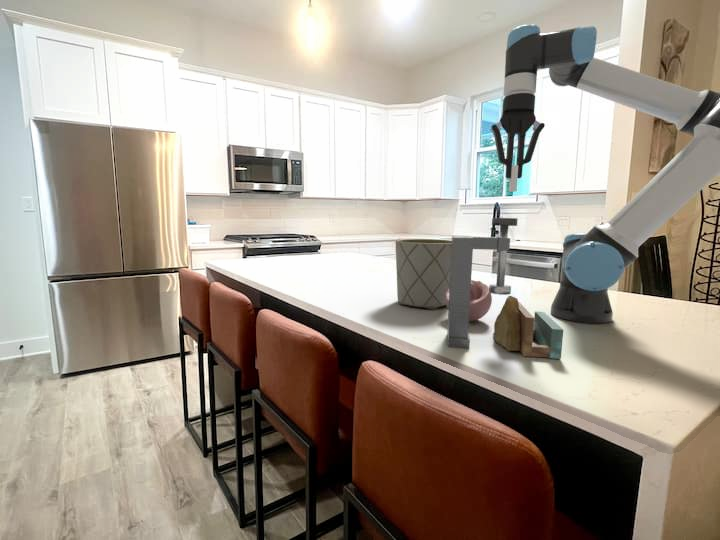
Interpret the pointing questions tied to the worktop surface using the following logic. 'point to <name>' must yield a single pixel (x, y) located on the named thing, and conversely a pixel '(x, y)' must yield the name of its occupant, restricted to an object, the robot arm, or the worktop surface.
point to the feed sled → (539, 335)
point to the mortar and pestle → (476, 300)
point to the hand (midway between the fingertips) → (512, 191)
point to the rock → (508, 325)
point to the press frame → (465, 284)
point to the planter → (423, 271)
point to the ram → (502, 257)
